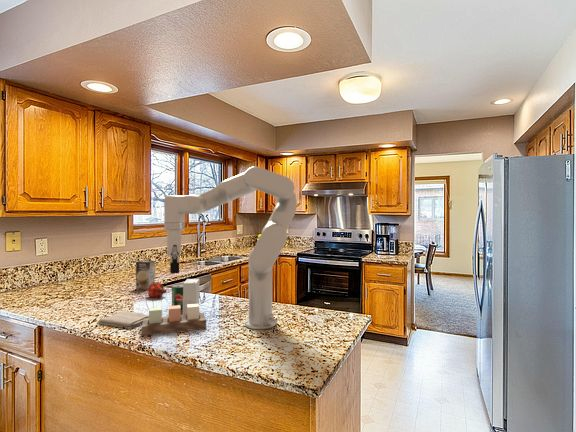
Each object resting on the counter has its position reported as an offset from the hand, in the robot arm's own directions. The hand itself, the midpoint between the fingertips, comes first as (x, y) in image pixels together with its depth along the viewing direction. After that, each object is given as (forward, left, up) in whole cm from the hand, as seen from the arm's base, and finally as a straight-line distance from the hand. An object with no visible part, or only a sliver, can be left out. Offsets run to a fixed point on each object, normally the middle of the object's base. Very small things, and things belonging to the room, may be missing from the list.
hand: (174, 271), depth 129 cm
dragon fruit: (+52, -13, -22) cm, 58 cm away
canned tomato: (+23, -13, -22) cm, 35 cm away
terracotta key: (0, 0, -19) cm, 19 cm away
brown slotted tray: (0, 0, -22) cm, 22 cm away
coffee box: (+77, -16, -22) cm, 82 cm away
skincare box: (+12, -13, -22) cm, 28 cm away
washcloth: (+20, +12, -23) cm, 33 cm away
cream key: (-3, -6, -19) cm, 20 cm away
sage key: (+3, +6, -19) cm, 20 cm away
